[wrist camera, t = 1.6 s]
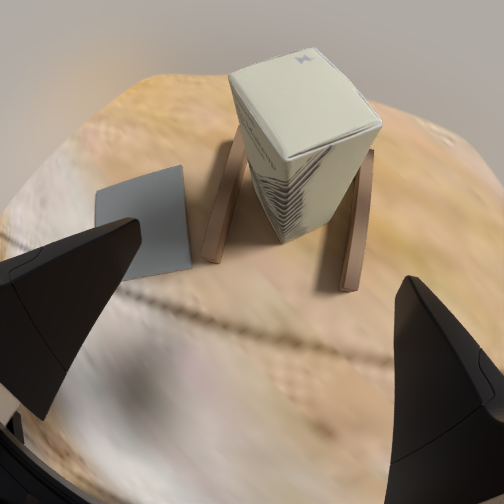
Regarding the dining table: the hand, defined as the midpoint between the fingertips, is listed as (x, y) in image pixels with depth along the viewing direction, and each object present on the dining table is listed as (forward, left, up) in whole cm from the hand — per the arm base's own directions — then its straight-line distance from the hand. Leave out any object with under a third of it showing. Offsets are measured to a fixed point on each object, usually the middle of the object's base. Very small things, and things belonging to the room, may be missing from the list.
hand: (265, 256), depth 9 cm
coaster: (+1, +13, -12) cm, 17 cm away
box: (+6, +1, -12) cm, 14 cm away
